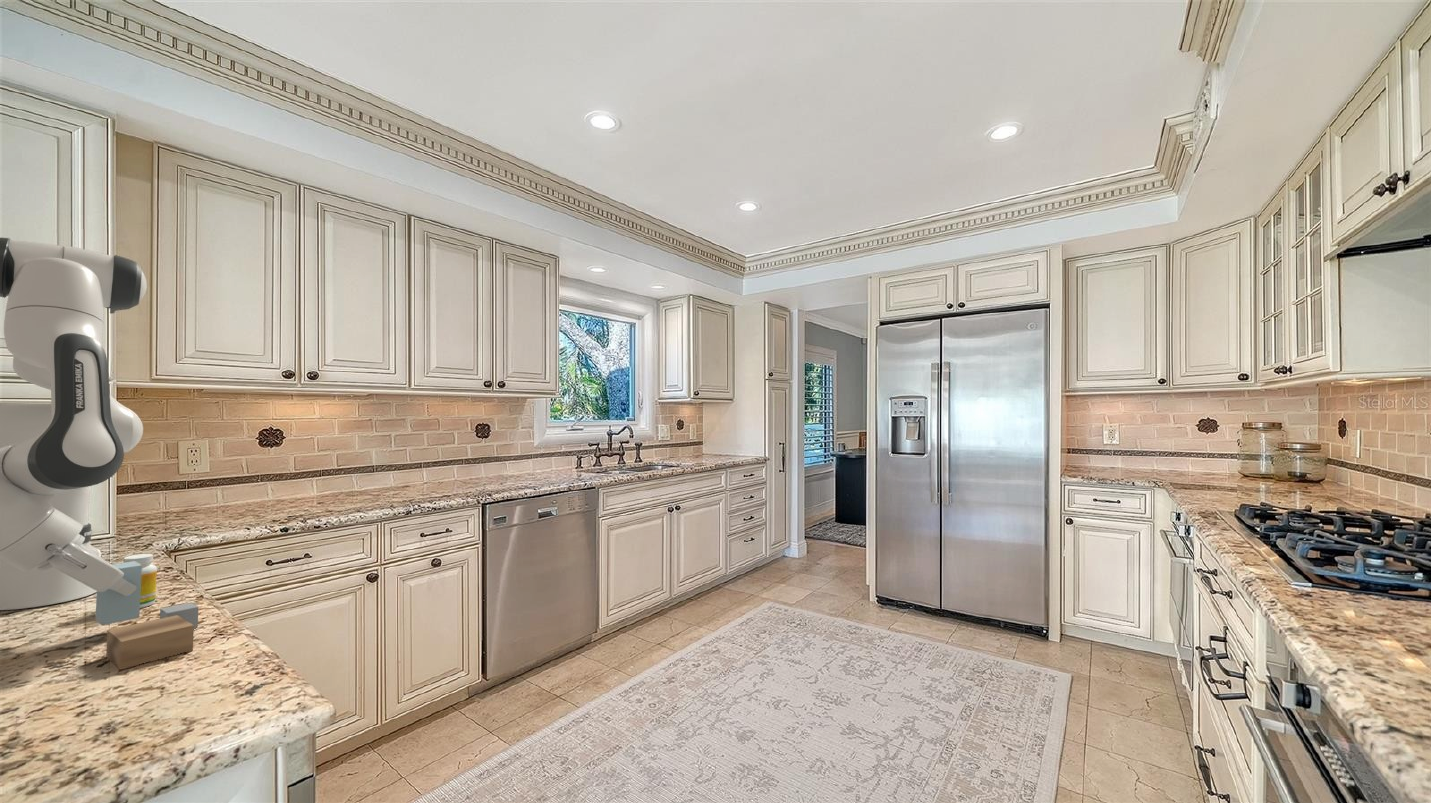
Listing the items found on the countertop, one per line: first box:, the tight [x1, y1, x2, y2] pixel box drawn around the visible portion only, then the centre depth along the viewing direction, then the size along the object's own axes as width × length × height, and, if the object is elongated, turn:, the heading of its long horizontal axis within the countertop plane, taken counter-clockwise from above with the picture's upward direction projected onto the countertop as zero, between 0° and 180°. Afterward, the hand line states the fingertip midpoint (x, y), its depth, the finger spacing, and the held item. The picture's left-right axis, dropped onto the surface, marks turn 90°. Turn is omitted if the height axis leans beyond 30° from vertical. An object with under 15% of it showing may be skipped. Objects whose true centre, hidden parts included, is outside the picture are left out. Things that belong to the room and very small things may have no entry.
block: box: [159, 602, 199, 629], centre depth 97 cm, size 4×4×4 cm
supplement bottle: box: [122, 553, 158, 609], centre depth 109 cm, size 5×5×10 cm
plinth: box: [105, 615, 195, 670], centre depth 87 cm, size 8×8×4 cm
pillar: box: [94, 561, 142, 626], centre depth 96 cm, size 4×4×9 cm
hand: (126, 588), depth 97 cm, fingers closed on pillar, 4 cm apart
